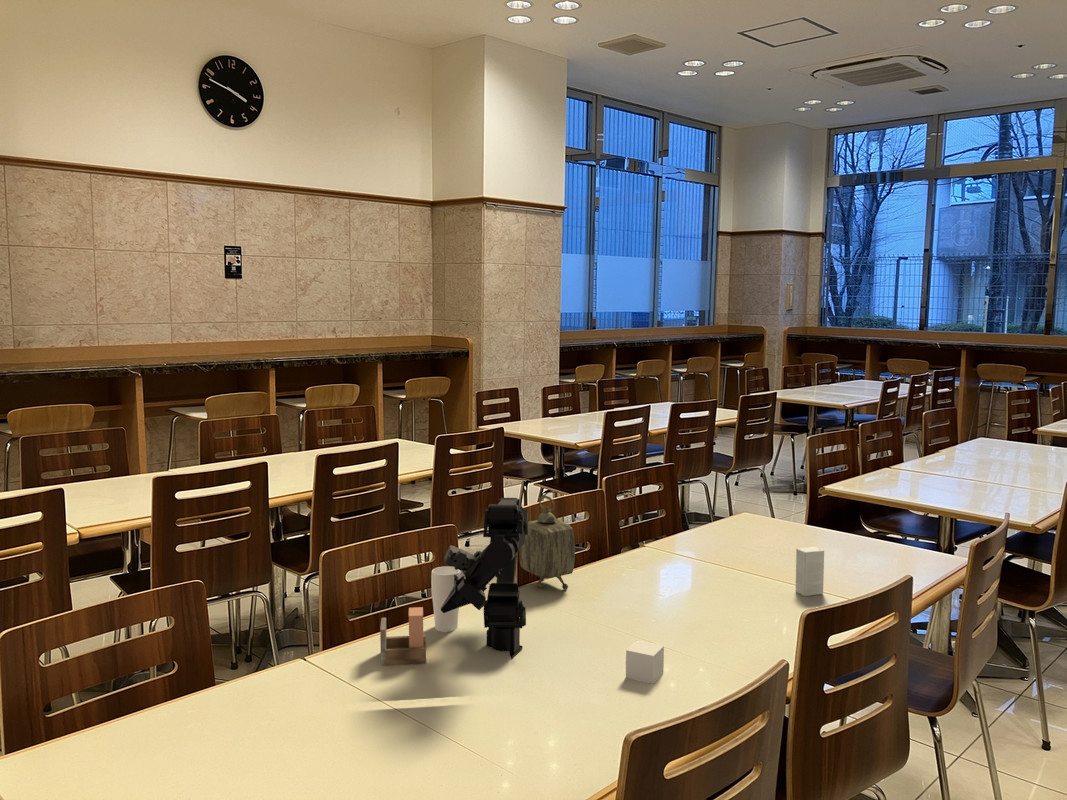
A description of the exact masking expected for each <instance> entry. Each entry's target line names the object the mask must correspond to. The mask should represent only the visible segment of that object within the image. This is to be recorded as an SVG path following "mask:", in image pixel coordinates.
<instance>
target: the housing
mask: <svg viewBox="0 0 1067 800" xmlns="http://www.w3.org/2000/svg"><path fill="white" fill-rule="evenodd" d="M380 620H381V621H380V630H379V631H380V632H379V633H380V634H379V635H380V639H379V641H380V666H385V667H389V666H390V667H391V666H393V667H394V666H406V665H409V666H411V665H423V664H424V665H427V645H426V640H427V639H426V634H423V647H417V648H409V635H397V636H387V617H381V619H380Z"/></svg>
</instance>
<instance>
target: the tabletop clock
mask: <svg viewBox="0 0 1067 800" xmlns="http://www.w3.org/2000/svg"><path fill="white" fill-rule="evenodd" d="M543 499H547V500H549V501H550V502H551V504H552V508H551V509H550V507H549V506H547V505H546V506H543V505H542V500H543ZM538 503H539V506H540V507H539V508H541V509H542V510H543V511H544V512H541V513H540V514H539V515H538V517H537V519H535V520H531V521H529V520H528V535H525V543H524V545H522V546H521V547H520V548H519V549H518V554H519V563H520V567H521V568H522V569H523V570H525V572H526V571H527V572H528V573H530V574H531V575H534V576H537V577H539V581H538V582H537V583H536V587H537V588H539V589H541V588H542V587H543V585H544V584H543V583H542V581H543V580H544V579H546V580H548V579H553V578H556V579H558V580H559V581H560V582H561V584H562V585H561V588H562V589H563V590H565V591H566V590H568V588H569V585H568V584H567V583H565V582H564V580H563V578H562V576H567V575H571V574H573V572H574V568H575V557H576V547H575V546H576V543H575V533H574V528H573V527H572V526H571V525H570V524H568V523H566V522H565V521H562V520H561V519H557V517H556V515H554V514H553V513H552V512H553V511H554V510H555V502H554V500H553V498H551V497H550V496H548V495H542V496H541V497H540V498H539V500H538Z"/></svg>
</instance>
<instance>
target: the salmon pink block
mask: <svg viewBox="0 0 1067 800" xmlns="http://www.w3.org/2000/svg"><path fill="white" fill-rule="evenodd" d="M423 635H424V607H423V606H422V607H421V606H420V607H419V606H418V607H417V606H415V607H408V636H409V648H417V647H423Z"/></svg>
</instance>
